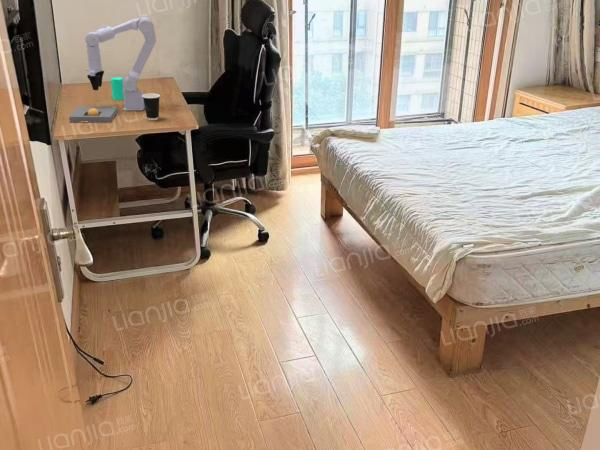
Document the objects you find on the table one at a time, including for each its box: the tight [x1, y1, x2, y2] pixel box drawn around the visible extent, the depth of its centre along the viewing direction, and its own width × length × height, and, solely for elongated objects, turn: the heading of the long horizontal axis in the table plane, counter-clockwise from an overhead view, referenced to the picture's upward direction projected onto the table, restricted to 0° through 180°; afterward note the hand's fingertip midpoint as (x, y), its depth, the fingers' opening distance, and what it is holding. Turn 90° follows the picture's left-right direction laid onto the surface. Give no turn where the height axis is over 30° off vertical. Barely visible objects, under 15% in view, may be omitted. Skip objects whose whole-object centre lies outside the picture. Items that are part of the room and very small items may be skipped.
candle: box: [110, 75, 124, 101], centre depth 311 cm, size 6×6×12 cm
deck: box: [69, 106, 119, 123], centre depth 281 cm, size 18×18×2 cm
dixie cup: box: [142, 93, 161, 121], centre depth 280 cm, size 8×8×11 cm
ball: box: [88, 108, 99, 116], centre depth 278 cm, size 5×5×5 cm
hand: (97, 88), depth 289 cm, fingers open, 7 cm apart
